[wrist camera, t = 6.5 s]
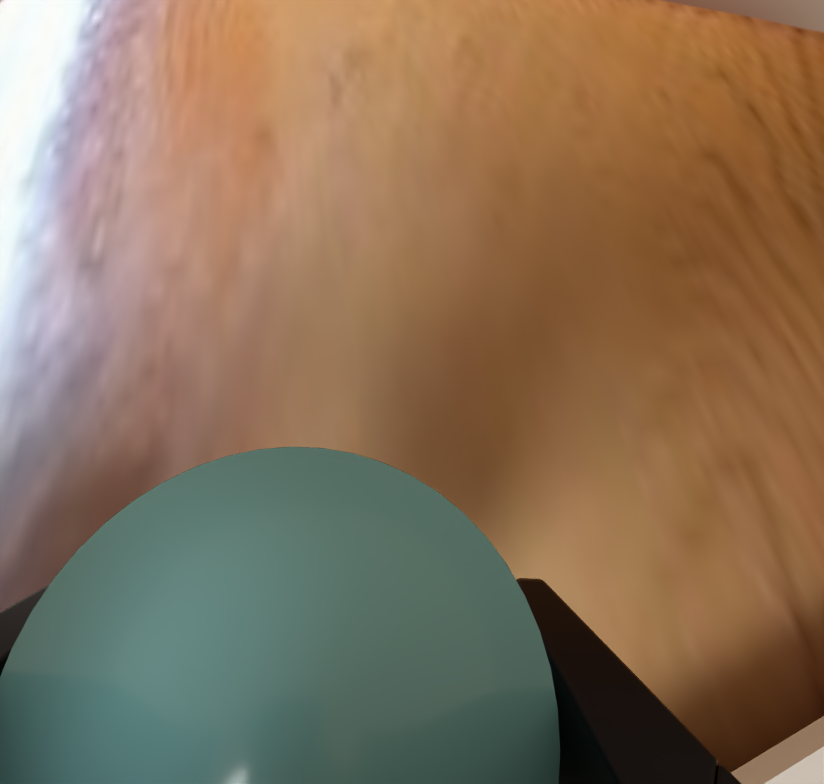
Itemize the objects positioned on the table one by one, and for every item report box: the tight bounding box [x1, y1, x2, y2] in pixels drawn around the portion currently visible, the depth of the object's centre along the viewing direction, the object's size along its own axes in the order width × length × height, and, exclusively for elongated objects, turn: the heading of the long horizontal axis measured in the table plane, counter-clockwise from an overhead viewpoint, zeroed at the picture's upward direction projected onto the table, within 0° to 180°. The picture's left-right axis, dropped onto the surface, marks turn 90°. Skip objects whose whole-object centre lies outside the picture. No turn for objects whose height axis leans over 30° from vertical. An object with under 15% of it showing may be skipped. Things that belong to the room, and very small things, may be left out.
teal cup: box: [0, 447, 560, 784], centre depth 10 cm, size 6×6×9 cm
